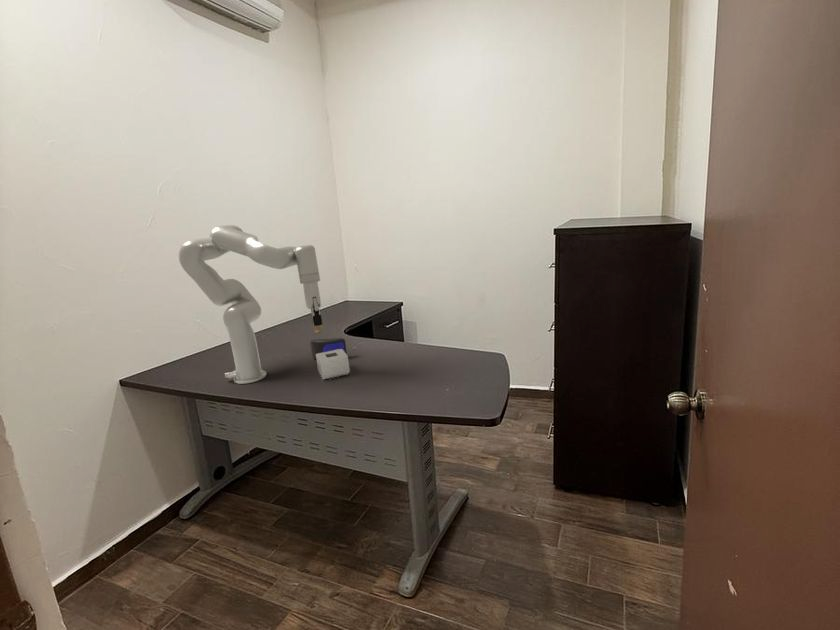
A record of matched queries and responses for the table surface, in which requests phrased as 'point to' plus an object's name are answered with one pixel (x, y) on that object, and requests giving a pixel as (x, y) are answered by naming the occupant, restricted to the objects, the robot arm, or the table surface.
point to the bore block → (332, 363)
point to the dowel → (318, 328)
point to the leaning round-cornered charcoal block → (327, 345)
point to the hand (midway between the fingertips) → (317, 323)
